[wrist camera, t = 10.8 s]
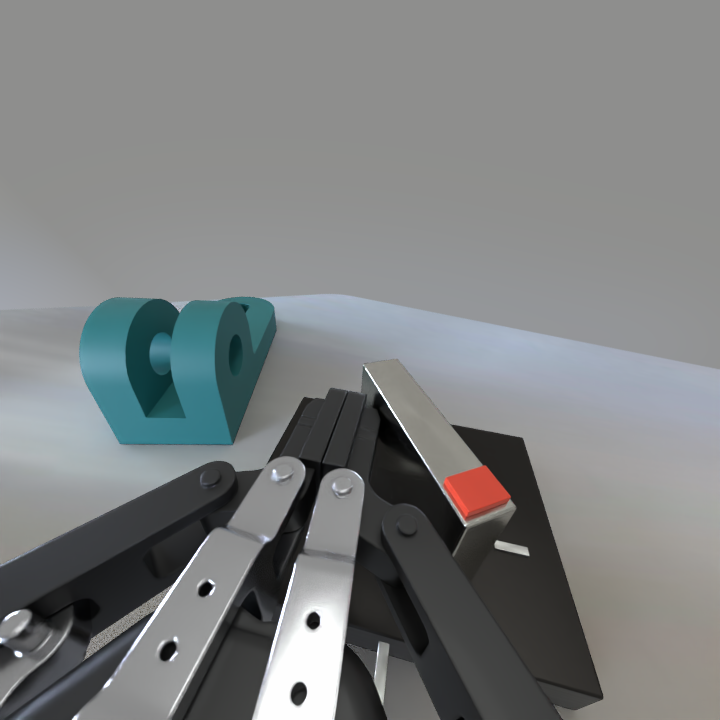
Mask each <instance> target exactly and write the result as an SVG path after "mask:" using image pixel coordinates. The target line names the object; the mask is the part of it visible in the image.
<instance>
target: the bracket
mask: <svg viewBox="0 0 720 720" xmlns="http://www.w3.org/2000/svg"><path fill="white" fill-rule="evenodd" d="M275 332H276V321H275V312H274V306H273V305H272V304H271V303H270V302H268V301H266V300H264V299H260V298H255V297H235V298H227V299H222V300H219V301H201V300H195V301H191V302H189V303H188V304H187V305H186V306H185V307H184V308H183V309H182V311H181V312H180V313H179V312H178V310H177V309H176V308H175V307H174V306H173V305H172V304H171V303H169V302H168V301H165V300H162V299H147V298H120V297H119V298H118V297H117V298H111V299H109V300H106V301H104V302H103V303H101V304H100V305H99V306H97V307H96V308H95V309H94V311H93V312H92V313H91V315H90V316H89V318H88V319H87V321H86V323H85V326H84V328H83V332H82V335H81V340H80V348H79V357H80V366H81V371H82V375H83V377H84V380H85V382H86V384H87V386H88V388H89V390H90V392H91V394H92V395H93V397H94V399H95V401H96V402H97V404H98V406H99V408H100V409H101V411H102V413H103V415H104V416H105V418H106V420H107V422H108V424H109V425H110V427H111V429H112V431H113V432H114V434H115V436H116V438H117V439H118V441H119V443H120V444H232V445H233V442H234V439H235V437H236V434H237V432H238V429H239V426H240V424H241V421H242V419H243V416H244V413H245V411H246V408H247V405H248V403H249V400H250V398H251V395H252V392H253V390H254V387H255V385H256V382H257V379H258V377H259V374H260V372H261V369H262V366H263V364H264V361H265V359H266V356H267V353H268V351H269V348H270V345H271V343H272V340H273V338H274V335H275Z"/></svg>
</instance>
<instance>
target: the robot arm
mask: <svg viewBox="0 0 720 720" xmlns="http://www.w3.org/2000/svg"><path fill="white" fill-rule="evenodd" d="M366 404H367V394H364V393H358V392H352V391H346V390H341V389H335V388H330V390H329V392H328V394H327V396H326V398H325V399H320V398H315V399H314V400H313V401H311V402H310V403H309V404H308V405H307V406H306V407H305V409H304V411H303V413H302V416H301V417H300V419H299V421H298V423H297V425H296V427H295V428H294V430H293V432H292V434H291V436H290V438H289V440H288V442H287V444H286V446H285V448H284V450H283V451H282V453H281V455H280V457H279V458H276V459H274V460H272V461H271V462H269V463H268V464H267V465H266V466H265V467H264V468H263V469H259V470H254V471H242V472H235V470H234V468H233V466H232V465H231V464H229V463H227V462H224V461H214V462H210V463H207V464H205V465H203V466H201V467H199V468H197V469H195V470H192V471H190V472H188V473H186V474H184V475H182V476H180V477H178V478H176V479H174V480H172V481H170V482H168V483H166V484H164V485H162V486H160V487H158V488H156V489H154V490H152V491H150V492H148V493H146V494H144V495H142V496H140V497H138V498H136V499H134V500H132V501H130V502H128V503H126V504H124V505H122V506H119V507H117V508H115V509H113V510H111V511H109V512H107V513H105V514H103V515H101V516H99V517H97V518H95V519H93V520H91V521H89V522H87V523H85V524H83V525H81V526H79V527H77V528H75V529H73V530H71V531H69V532H67V533H65V534H63V535H61V536H59V537H57V538H55V539H53V540H51V541H49V542H46V543H44V544H42V545H40V546H38V547H36V548H34V549H32V550H30V551H28V552H26V553H24V554H22V555H20V556H18V557H16V558H14V559H12V560H10V561H8V562H6V563H4V564H2V565H0V720H387V717H386V714H385V711H384V708H383V705H382V702H381V699H380V696H379V694H378V691H377V688H376V686H375V684H374V682H373V679H372V677H371V675H370V673H369V672H368V670H367V669H366V667H365V665H364V664H363V662H362V661H361V660H360V658H359V657H358V656H357V655H356V653H355V652H353V651H352V650H351V649H350V648H349V647H348V646H347V645H346V637H347V629H348V621H349V613H350V605H351V597H352V589H353V581H354V573H355V565H356V562H358V563H359V564H361V565H362V566H363V567H365V568H366V569H368V570H369V571H370V572H372V573H373V574H375V578H376V580H377V583H378V585H379V587H380V589H381V591H382V593H383V596H384V598H385V600H386V602H387V604H388V607H389V609H390V611H391V613H392V615H393V617H394V620H395V622H396V624H397V626H398V628H399V630H400V633H401V635H402V637H403V639H404V641H405V643H406V646H407V648H408V650H409V652H410V654H411V657H412V659H413V661H414V663H415V665H416V667H417V670H418V672H419V674H420V676H421V678H422V680H423V683H424V685H425V687H426V689H427V691H428V693H429V696H430V698H431V700H432V702H433V704H434V707H435V709H436V711H437V713H438V715H439V717H440V720H563V719H562V718H561V716H560V715H559V713H558V712H557V710H556V709H555V707H554V706H553V704H552V703H551V701H550V700H549V698H548V697H547V695H546V694H545V692H544V691H543V689H542V688H541V686H540V685H539V683H538V682H537V680H536V679H535V677H534V676H533V674H532V673H531V671H530V670H529V668H528V667H527V665H526V664H525V662H524V661H523V660H522V658H521V657H520V655H519V654H518V652H517V651H516V649H515V648H514V646H513V645H512V643H511V642H510V640H509V639H508V637H507V636H506V634H505V633H504V631H503V630H502V628H501V627H500V625H499V624H498V622H497V621H496V619H495V618H494V616H493V615H492V613H491V612H490V610H489V609H488V607H487V606H486V604H485V603H484V601H483V600H482V598H481V597H480V595H479V594H478V592H477V591H476V589H475V588H474V587H473V585H472V584H471V582H470V581H469V579H468V578H467V576H466V575H465V573H464V572H463V570H462V569H461V567H460V566H459V564H458V563H457V561H456V560H455V558H454V557H453V555H452V554H451V552H450V551H449V549H448V548H447V546H446V545H445V543H444V542H443V540H442V539H441V537H440V536H439V534H438V533H437V531H436V530H435V528H434V527H433V525H432V524H431V522H430V521H429V519H428V518H427V517H426V515H425V514H424V513H423V512H422V511H421V510H420V509H418V508H417V507H415V506H413V505H410V504H396V505H394V506H393V505H391V504H390V503H388V502H386V501H385V500H383V499H381V498H380V497H379V496H378V495H377V494H376V493H375V492H374V491H373V489H372V488H371V485H370V477H371V472H372V467H373V462H374V457H375V453H376V448H377V442H378V434H379V427H380V420H381V419H380V416H379V413H378V410H377V409H374V408H368V407H366ZM313 503H315V507H314V510H313V514H312V518H311V522H310V525H309V529H308V533H307V537H306V541H305V544H304V547H303V549H302V550H301V551H300V552H299V554H298V557H297V559H296V563H295V566H294V570H293V573H292V577H291V580H290V584H289V588H288V591H287V595H286V598H285V602H284V606H283V609H282V613H281V617H280V620H279V621H271V619H272V617H273V614H274V612H275V609H276V606H277V603H278V600H279V596H280V590H281V586H282V583H283V580H284V578H285V575H286V573H287V571H288V568H289V566H290V564H291V561H292V559H293V557H294V554H295V552H296V550H297V547H298V545H299V543H300V541H301V538H302V536H303V534H304V531H305V529H306V527H307V524H308V517H309V514H310V511H311V508H312V505H313ZM175 582H176V583H175ZM174 583H175V584H174ZM172 584H174V586H173V587H172V588H171V590H170V591H169V593H168V594H167V596H166V597H165V599H164V600H163V602H162V603H161V605H160V606H159V607H158V609H157V610H156V611H154V612H152V613H150V614H149V615H147V616H145V617H144V618H142V619H141V620H140V621H138V622H137V623H135V624H134V625H133V626H131V627H130V628H129V629H127V630H126V631H124V632H123V633H122V634H120V635H119V636H118V637H116V638H115V639H113V640H112V641H111V642H109V643H108V644H106V645H105V646H104V647H102V648H101V649H100V650H98V651H97V652H95V653H94V654H93V655H91V656H90V657H89V658H87V659H86V660H84V658H85V655H86V650H87V648H88V645H89V643H90V640H91V638H93V637H94V636H96V635H97V634H99V633H100V632H102V631H103V630H105V629H106V628H108V627H109V626H111V625H112V624H114V623H115V622H117V621H118V620H120V619H121V618H123V617H124V616H126V615H127V614H129V613H130V612H132V611H133V610H135V609H136V608H138V607H139V606H141V605H142V604H144V603H145V602H147V601H148V600H150V599H151V598H153V597H154V596H156V595H157V594H159V593H160V592H162V591H163V590H165V589H166V588H168V587H169V586H171V585H172ZM83 660H84V661H83Z"/></svg>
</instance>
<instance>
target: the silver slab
mask: <svg viewBox="0 0 720 720" xmlns="http://www.w3.org/2000/svg"><path fill="white" fill-rule="evenodd" d="M361 393H364V394H367V404H366V407H368V408H374V409H377V410H378V413H379V416H380V419H381V420H380V427H379V434H378V442H377V448H376V453H375V457H374V462H373V467H372V472H371V477H370V485H371V488H372V489H373V491H374V492H375V493H376V494H377V495H378V496H379V497H380V498H381V499H383V500H385V501H386V502H388V503H390V504H391V505H393V506H394V505H396V504H410V505H413V506H415V507H417V508H418V509H420V510H421V511H422V512H423V513H424V514H425V515H426V517H427V518H428V519H429V521H430V522H431V524H432V525H433V527H434V528H435V530H436V531H437V533H438V534H439V536H440V537H441V539H442V540H443V542H444V543H445V545H446V546H447V548H448V549H449V551H450V552H451V554H452V555H453V557H454V558H455V560H456V561H457V563H458V564H459V566H460V567H461V569H462V570H463V572H464V573H465V575H466V576H467V578H468V579H469V581H470V582H471V581H472V579H473V577H474V576H475V574H476V573H477V571H478V569H479V568H480V566H481V565H482V563H483V561H484V560H485V558H486V557H487V555H488V553H489V552H490V550H491V549H492V547H493V545H494V544H495V542H496V541H497V539H498V537H499V536H500V534H501V533H502V531H503V529H504V528H505V526H506V525H507V523H508V522H509V520H510V518H511V517H512V515H513V514H514V512H515V510H516V506H515V504H514V503H513V502H512V501H511V499H510V498H511V496H510V495H509V494H508V492H507V491H506V490H505V489H504V487H503V486H502V485H501V484H500V482H499V481H498V480H497V479H496V478H495V476H494V475H493V474H492V473H491V471H490V470H489V469H488V468H487V466H486V465H484V466H483V465H482V463H481V462H480V461H479V460H478V458H477V457H476V456H475V455H474V453H473V452H472V451H471V450H470V448H469V447H468V446H467V445H466V443H465V442H464V441H463V440H462V438H461V437H460V436H459V435H458V433H457V432H456V431H455V430H454V428H453V427H452V426H451V425H450V424H449V422H448V421H447V420H446V419H445V417H444V416H443V415H442V414H441V412H440V411H439V410H438V409H437V407H436V406H435V405H434V404H433V402H432V401H431V400H430V399H429V397H428V396H427V395H426V394H425V392H424V391H423V390H422V389H421V387H420V386H419V385H418V384H417V382H416V381H415V380H414V379H413V377H412V376H411V375H410V374H409V373H408V371H407V370H406V369H405V368H404V366H403V365H402V364H401V363H400V361H399V360H398V359H391V360H385V361H379V362H372V363H366V364H363V373H362V386H361Z"/></svg>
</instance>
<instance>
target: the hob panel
mask: <svg viewBox="0 0 720 720" xmlns="http://www.w3.org/2000/svg"><path fill="white" fill-rule="evenodd" d="M313 400H314V399H313V398H307V397H304V398H303V400H302V401H301V403H300V405H299V407H298V409H297V410H296V412H295V414H294V416H293V418H292V419H291V421H290V423H289V425H288V427H287V428H286V430H285V432H284V434H283V436H282V437H281V439H280V441H279V443H278V445H277V447H276V448H275V450H274V452H273V454H272V456H271V457H270V459H269V461H268V463H269V462H271V461H272V460H274V459H276V458H279V457H280V455H281V453H282V451H283V450H284V448H285V446H286V444H287V442H288V440H289V438H290V436H291V434H292V432H293V430H294V428H295V427H296V425H297V423H298V421H299V419H300V417H301V416H302V413H303V411H304V409H305V407H306V406H307V405H308V404H309V403H310V402H311V401H313ZM450 425H451V424H450ZM451 426H452V427H453V428H454V430H455V431H456V432H457V433H458V435H459V436H460V437H461V438H462V440H463V441H464V442H465V443H466V445H467V446H468V447H469V448H470V450H471V451H472V452H473V453H474V455H475V456H476V457H477V458H478V460H479V461H480V462H481V463H482V465H483V466H484V465H486V466H487V468H488V469H489V470H490V471H491V473H492V474H493V475H494V476H495V478H496V479H497V480H498V481H499V482H500V484H501V485H502V486H503V487H504V489H505V490H506V491H507V492H508V494H509V495H510V496H511V498H510V499H511V501H512V502H513V503H514V504H515V506H516V510H515V512H514V514H513V515H512V517H511V518H510V520H509V522H508V523H507V525H506V526H505V528H504V529H503V531H502V533H501V534H500V536H499V537H498V539H497V541H496V542H495V544H494V545H493V547H492V549H491V550H490V552H489V553H488V555H487V557H486V558H485V560H484V561H483V563H482V565H481V566H480V568H479V569H478V571H477V573H476V574H475V576H474V577H473V579H472V581H471V584H472V585H473V587H474V588H475V589H476V591H477V592H478V594H479V595H480V597H481V598H482V600H483V601H484V603H485V604H486V606H487V607H488V609H489V610H490V612H491V613H492V615H493V616H494V618H495V619H496V621H497V622H498V624H499V625H500V627H501V628H502V630H503V631H504V633H505V634H506V636H507V637H508V639H509V640H510V642H511V643H512V645H513V646H514V648H515V649H516V651H517V652H518V654H519V655H520V657H521V658H522V660H523V661H524V662H525V664H526V665H527V667H528V668H529V670H530V671H531V673H532V674H533V676H534V677H535V679H536V680H537V682H538V683H539V685H540V686H541V688H542V689H543V691H544V692H545V694H546V695H547V697H548V698H549V700H550V701H551V703H552V704H555V705H559V706H562V707H565V708H569V709H572V710H578V709H580V708H583V707H585V706H588V705H590V704H592V703H595V702H597V701H600V700H602V699H603V693H602V690H601V687H600V684H599V680H598V677H597V674H596V671H595V668H594V664H593V661H592V658H591V655H590V652H589V648H588V645H587V642H586V639H585V636H584V632H583V629H582V626H581V623H580V620H579V616H578V613H577V610H576V607H575V604H574V600H573V597H572V594H571V591H570V588H569V584H568V581H567V578H566V575H565V572H564V568H563V565H562V562H561V559H560V556H559V552H558V549H557V546H556V543H555V540H554V536H553V533H552V530H551V527H550V523H549V520H548V517H547V514H546V511H545V507H544V504H543V501H542V498H541V495H540V491H539V488H538V485H537V482H536V479H535V475H534V472H533V469H532V466H531V463H530V459H529V456H528V453H527V450H526V447H525V443H524V440H523V438H521V437H515V436H510V435H505V434H499V433H494V432H489V431H483V430H478V429H473V428H467V427H462V426H457V425H451ZM268 463H267V464H268ZM314 507H315V503H313V505H312V508H311V511H310V514H309V517H308V524H307V527H306V529H305V531H304V534H303V536H302V538H301V541H300V543H299V545H298V547H297V550H296V552H295V554H294V557H293V559H292V561H291V564H290V566H289V568H288V571H287V573H286V575H285V578H284V580H283V583H282V586H281V590H280V596H279V600H278V603H277V606H276V609H275V612H274V614H273V617H272V619H271V620H272V621H279V620H280V617H281V613H282V609H283V606H284V602H285V598H286V595H287V591H288V588H289V584H290V580H291V577H292V573H293V570H294V566H295V563H296V559H297V557H298V554H299V552H300V551H301V550H302V549H303V547H304V544H305V541H306V537H307V533H308V529H309V525H310V522H311V518H312V514H313V510H314ZM346 643H349V644H353V645H356V646H360V647H363V648H366V649H370V650H373V651H376V652H377V659H376V668H375V676H374V684H375V686H376V688H377V691H378V694H379V696H380V699H381V702H382V705H384V696H385V686H386V675H387V665H388V655H390V656H393V657H397V658H400V659H403V660H407V661H410V662H414V661H413V659H412V657H411V654H410V652H409V650H408V648H407V646H406V643H405V641H404V639H403V637H402V635H401V633H400V630H399V628H398V626H397V624H396V622H395V620H394V617H393V615H392V613H391V611H390V609H389V607H388V604H387V602H386V600H385V598H384V596H383V593H382V591H381V589H380V587H379V585H378V583H377V580H376V578H375V574H373V573H372V572H370V571H369V570H368V569H366V568H365V567H363V566H362V565H361V564H359V563H358V562H356V565H355V573H354V581H353V589H352V597H351V605H350V613H349V621H348V629H347V637H346Z"/></svg>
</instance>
